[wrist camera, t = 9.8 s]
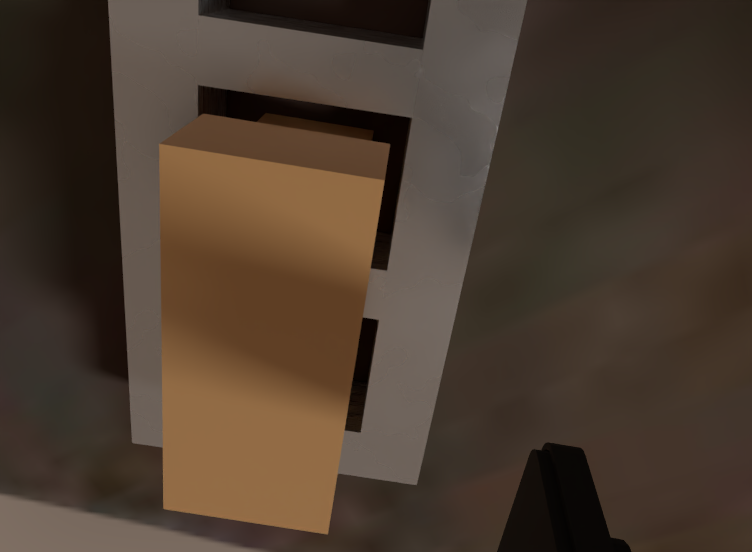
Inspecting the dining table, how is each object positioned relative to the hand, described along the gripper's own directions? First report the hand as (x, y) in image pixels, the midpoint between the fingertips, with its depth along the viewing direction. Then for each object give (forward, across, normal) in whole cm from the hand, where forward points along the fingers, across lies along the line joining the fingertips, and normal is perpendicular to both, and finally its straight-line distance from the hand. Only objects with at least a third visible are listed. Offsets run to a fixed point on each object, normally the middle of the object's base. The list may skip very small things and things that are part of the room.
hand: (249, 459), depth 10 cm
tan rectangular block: (+9, +1, 0) cm, 9 cm away
